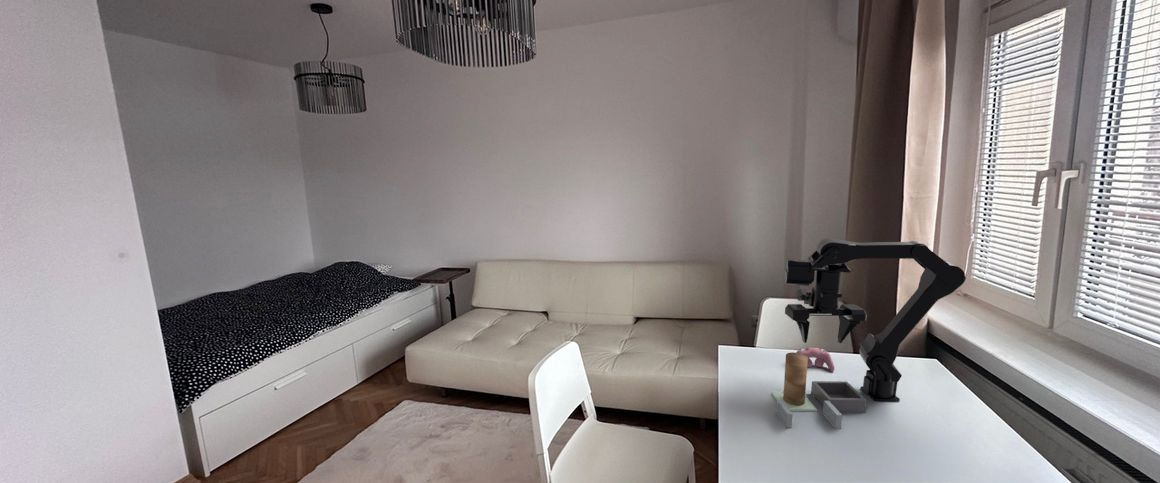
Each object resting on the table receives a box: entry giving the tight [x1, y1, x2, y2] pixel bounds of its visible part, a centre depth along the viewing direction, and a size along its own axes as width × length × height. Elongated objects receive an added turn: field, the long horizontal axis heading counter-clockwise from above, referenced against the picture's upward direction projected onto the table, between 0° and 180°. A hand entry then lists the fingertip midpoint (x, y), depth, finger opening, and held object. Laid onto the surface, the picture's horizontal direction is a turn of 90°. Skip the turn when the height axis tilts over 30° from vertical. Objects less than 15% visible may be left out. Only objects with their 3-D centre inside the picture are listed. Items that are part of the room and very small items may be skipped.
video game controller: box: [795, 347, 836, 373], centre depth 131 cm, size 10×5×7 cm, turn 85°
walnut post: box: [783, 352, 808, 406], centre depth 112 cm, size 5×5×12 cm
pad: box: [771, 391, 818, 412], centre depth 113 cm, size 8×8×1 cm
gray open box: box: [810, 380, 868, 414], centre depth 112 cm, size 9×9×4 cm
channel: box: [776, 400, 843, 430], centre depth 105 cm, size 12×6×4 cm, turn 87°
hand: (822, 342), depth 118 cm, fingers open, 9 cm apart
